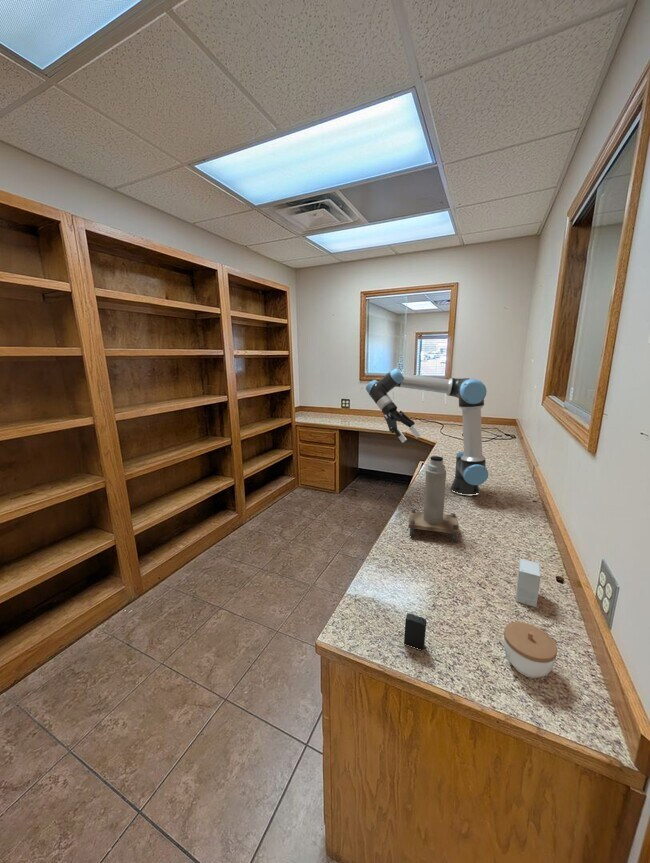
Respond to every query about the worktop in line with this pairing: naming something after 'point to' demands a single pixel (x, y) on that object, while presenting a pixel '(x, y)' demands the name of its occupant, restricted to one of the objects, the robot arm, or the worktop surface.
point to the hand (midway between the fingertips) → (411, 439)
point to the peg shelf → (446, 526)
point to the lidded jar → (529, 649)
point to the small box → (528, 582)
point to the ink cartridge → (415, 631)
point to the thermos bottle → (434, 491)
